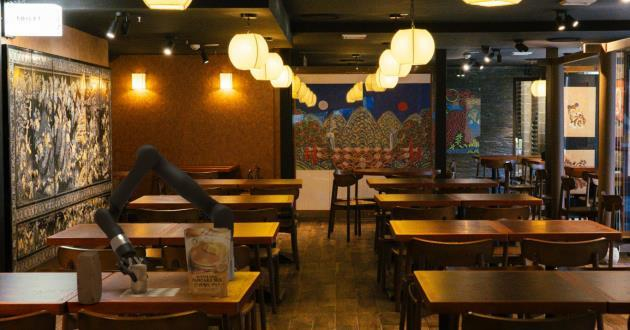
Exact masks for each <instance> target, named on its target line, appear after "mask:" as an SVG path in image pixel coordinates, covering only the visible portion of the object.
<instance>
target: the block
mask: <svg viewBox="0 0 630 330" xmlns="http://www.w3.org/2000/svg"><path fill="white" fill-rule="evenodd" d="M76 261H77V263H76V292H77V293H76V294H77V302H78V303H79V304H81V305H93V304H98V303H99V302H100V300H101V297H102V296H103V295H102V294H103V274H102V265H101V264H102V263H101V260H100V254H99V251H97V250H95V251H94V250H92V251H91V250H90V251H84V252H81V253H79V254H78V255H77V257H76Z"/></svg>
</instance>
